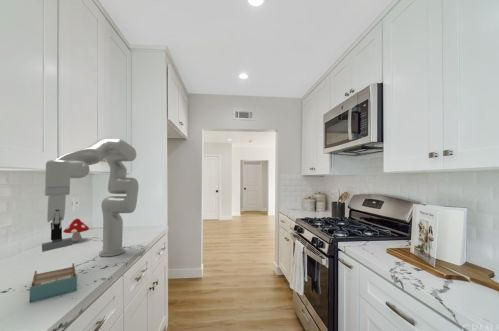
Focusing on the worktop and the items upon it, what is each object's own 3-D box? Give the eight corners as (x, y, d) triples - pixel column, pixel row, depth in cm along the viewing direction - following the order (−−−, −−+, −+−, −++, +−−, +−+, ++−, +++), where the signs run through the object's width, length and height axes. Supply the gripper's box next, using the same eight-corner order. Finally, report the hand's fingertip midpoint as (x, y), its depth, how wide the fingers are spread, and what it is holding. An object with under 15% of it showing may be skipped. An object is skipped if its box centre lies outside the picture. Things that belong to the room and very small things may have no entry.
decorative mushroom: (81, 237, 162) (82, 216, 162) (94, 239, 156) (94, 217, 157) (58, 243, 149) (59, 219, 149) (71, 245, 143) (72, 221, 144)
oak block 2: (57, 276, 89) (57, 280, 86) (70, 274, 91) (70, 277, 88) (57, 287, 89) (56, 291, 86) (70, 284, 91) (70, 288, 88)
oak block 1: (41, 280, 86) (40, 284, 83) (55, 277, 88) (55, 281, 85) (41, 291, 86) (40, 295, 83) (55, 288, 88) (55, 292, 85)
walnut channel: (34, 279, 97) (35, 270, 97) (73, 271, 105) (73, 263, 105) (31, 292, 86) (31, 283, 86) (75, 282, 94) (75, 273, 94)
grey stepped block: (42, 249, 89) (40, 224, 89) (72, 243, 95) (70, 219, 94) (42, 251, 87) (40, 225, 86) (72, 245, 92) (70, 220, 92)
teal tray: (31, 293, 85) (32, 279, 85) (75, 282, 94) (75, 270, 94) (29, 302, 79) (29, 287, 79) (76, 290, 87) (77, 276, 87)
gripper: (45, 190, 95) (44, 235, 94) (44, 193, 82) (42, 245, 82) (68, 189, 100) (67, 232, 99) (70, 192, 87) (69, 241, 86)
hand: (56, 237), depth 90 cm, fingers closed on grey stepped block, 3 cm apart
